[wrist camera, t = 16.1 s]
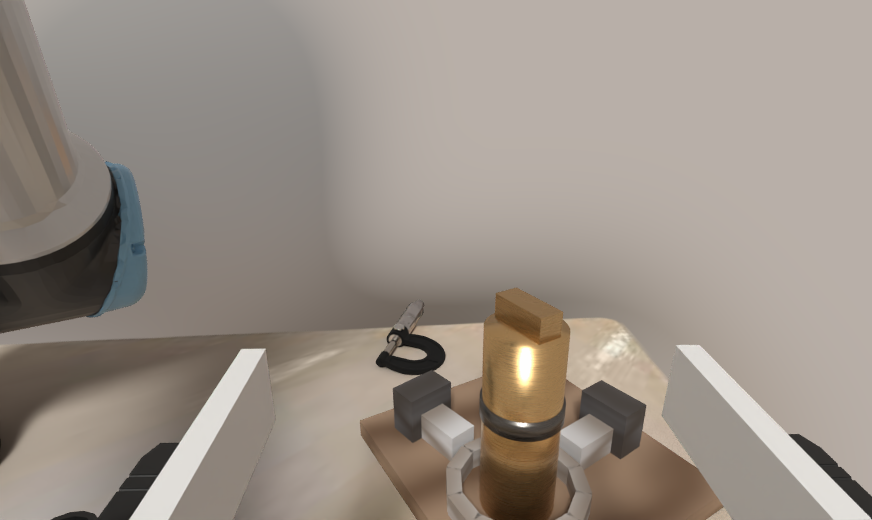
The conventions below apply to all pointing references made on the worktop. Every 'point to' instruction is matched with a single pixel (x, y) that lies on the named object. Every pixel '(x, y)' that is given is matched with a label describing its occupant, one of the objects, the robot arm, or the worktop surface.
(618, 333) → the worktop surface
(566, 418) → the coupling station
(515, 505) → the coupling
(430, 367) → the micrometer
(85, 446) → the worktop surface
